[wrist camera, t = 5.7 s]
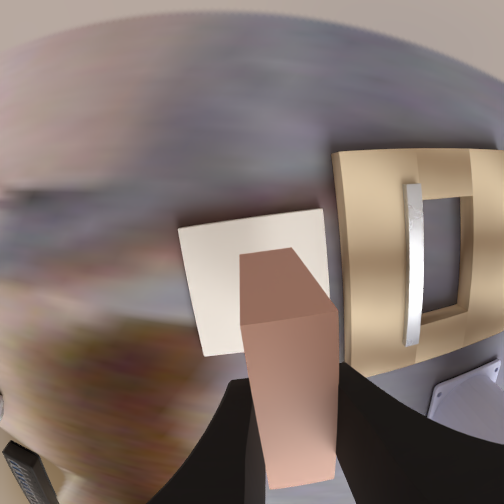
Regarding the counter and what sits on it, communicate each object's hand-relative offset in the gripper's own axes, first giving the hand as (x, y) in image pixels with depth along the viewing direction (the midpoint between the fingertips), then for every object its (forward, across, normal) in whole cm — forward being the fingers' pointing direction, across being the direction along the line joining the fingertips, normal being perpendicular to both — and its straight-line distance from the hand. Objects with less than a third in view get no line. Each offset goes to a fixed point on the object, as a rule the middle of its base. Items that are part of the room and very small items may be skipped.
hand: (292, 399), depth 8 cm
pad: (+10, 0, 0) cm, 10 cm away
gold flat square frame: (+10, -12, 0) cm, 16 cm away
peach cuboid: (+5, 0, 0) cm, 5 cm away
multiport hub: (+11, +31, +23) cm, 40 cm away
